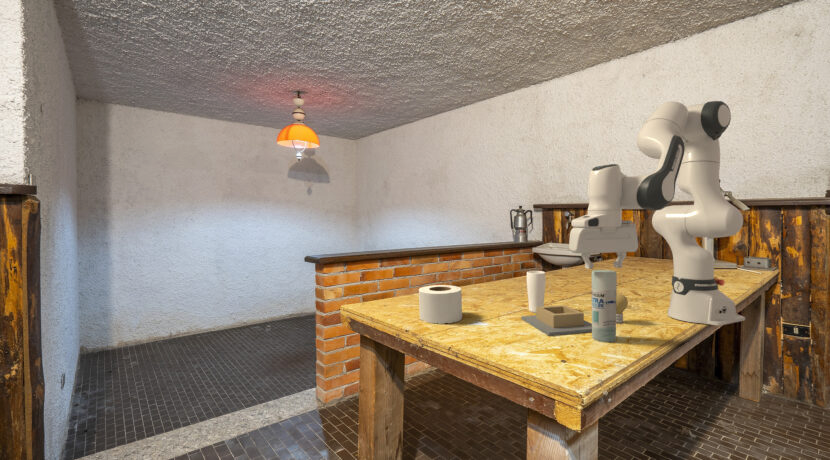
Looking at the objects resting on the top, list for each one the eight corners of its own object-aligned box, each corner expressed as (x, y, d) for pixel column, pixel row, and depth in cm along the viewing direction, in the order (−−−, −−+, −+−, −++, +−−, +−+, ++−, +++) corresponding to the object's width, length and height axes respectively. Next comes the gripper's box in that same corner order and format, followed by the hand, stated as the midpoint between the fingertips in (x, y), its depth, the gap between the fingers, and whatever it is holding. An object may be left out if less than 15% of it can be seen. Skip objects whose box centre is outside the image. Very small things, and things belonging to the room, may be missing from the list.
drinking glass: (549, 312, 137) (549, 272, 136) (536, 314, 134) (536, 274, 133) (535, 308, 143) (535, 270, 142) (522, 310, 140) (522, 271, 139)
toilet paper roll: (410, 318, 133) (410, 288, 133) (440, 309, 143) (439, 282, 143) (441, 327, 122) (440, 295, 121) (470, 317, 132) (470, 288, 132)
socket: (567, 315, 132) (567, 301, 132) (601, 331, 114) (601, 315, 114) (521, 319, 129) (521, 305, 128) (549, 335, 111) (549, 319, 111)
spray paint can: (586, 336, 110) (586, 270, 109) (605, 334, 111) (606, 269, 110) (601, 343, 104) (601, 273, 103) (621, 341, 105) (622, 272, 104)
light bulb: (631, 324, 120) (632, 294, 119) (612, 325, 120) (612, 295, 119) (620, 319, 126) (620, 290, 126) (602, 319, 126) (602, 291, 126)
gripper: (627, 220, 111) (626, 265, 111) (566, 220, 107) (566, 267, 108) (644, 220, 105) (643, 268, 105) (579, 221, 101) (579, 270, 102)
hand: (603, 268), depth 107 cm, fingers open, 8 cm apart
